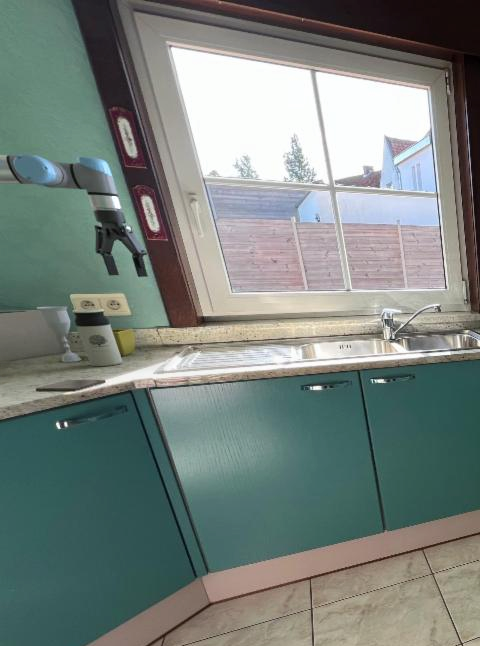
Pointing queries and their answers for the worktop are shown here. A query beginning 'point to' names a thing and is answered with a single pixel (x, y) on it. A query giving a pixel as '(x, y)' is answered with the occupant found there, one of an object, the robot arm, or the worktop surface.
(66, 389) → the coaster
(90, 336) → the travel mug
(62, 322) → the chalice
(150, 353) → the worktop surface
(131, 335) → the flower pot
